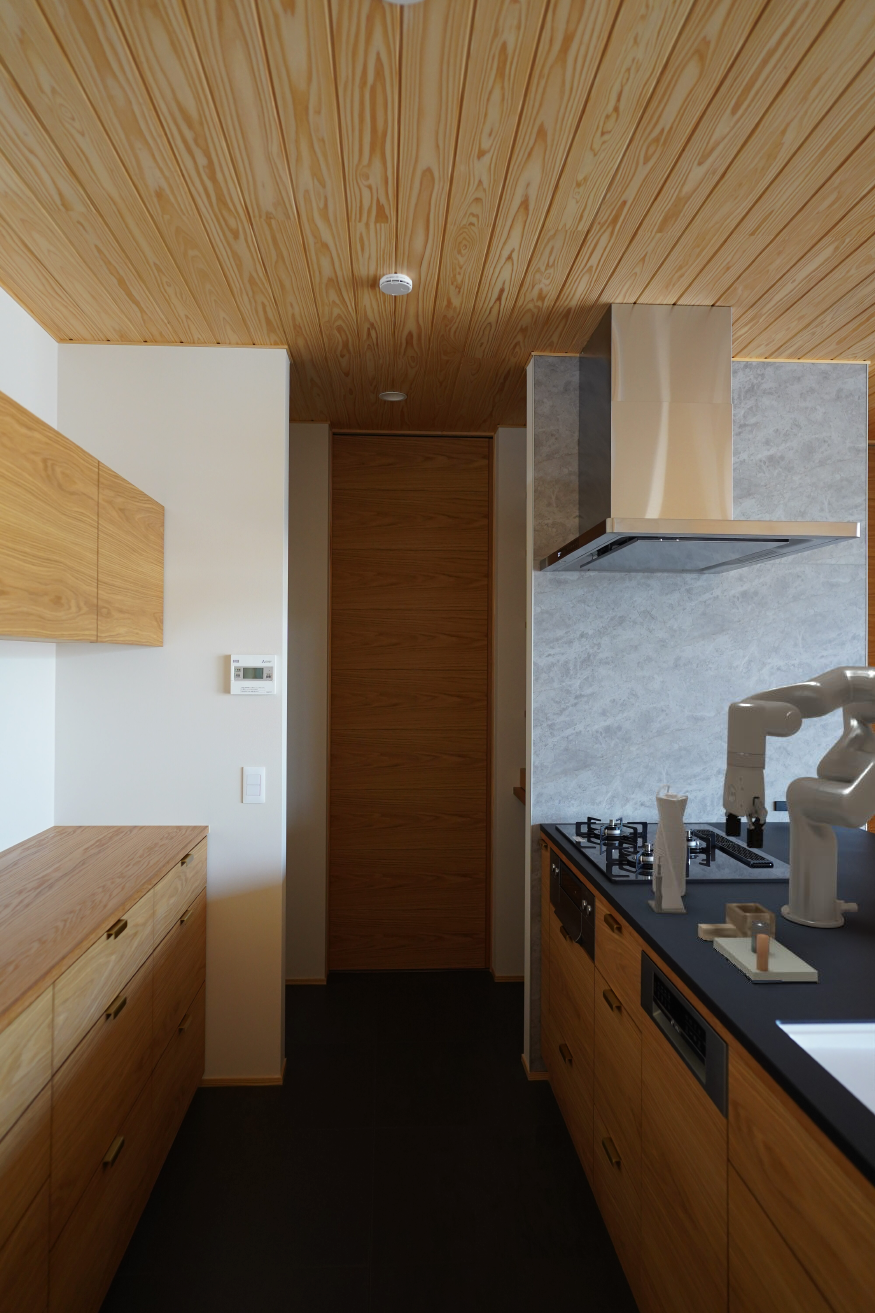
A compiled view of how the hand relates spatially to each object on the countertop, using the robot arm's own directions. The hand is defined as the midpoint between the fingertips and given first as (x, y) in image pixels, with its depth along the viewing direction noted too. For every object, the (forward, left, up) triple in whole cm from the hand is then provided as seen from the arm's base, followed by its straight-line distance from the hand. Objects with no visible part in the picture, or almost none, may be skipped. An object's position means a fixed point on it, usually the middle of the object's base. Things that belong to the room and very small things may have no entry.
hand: (743, 842), depth 155 cm
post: (+3, +14, -18) cm, 23 cm away
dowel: (+7, +21, -18) cm, 29 cm away
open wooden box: (+3, +2, -20) cm, 20 cm away
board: (+3, +15, -20) cm, 25 cm away
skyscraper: (+9, -17, -20) cm, 28 cm away
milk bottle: (+5, -27, -20) cm, 34 cm away
